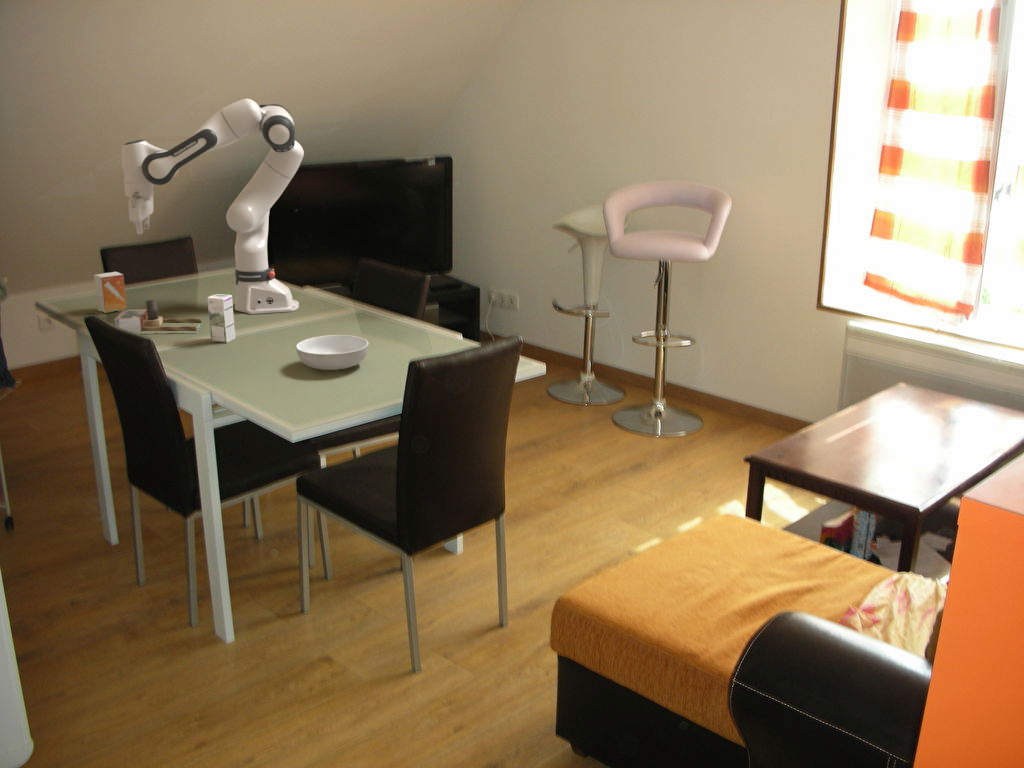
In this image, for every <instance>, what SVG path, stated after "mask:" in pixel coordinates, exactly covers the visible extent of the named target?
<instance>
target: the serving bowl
mask: <svg viewBox="0 0 1024 768" xmlns="http://www.w3.org/2000/svg"><path fill="white" fill-rule="evenodd" d="M369 344H370V343H369V341H368V340H367V339H366V338H363V337H360V336H356V335H349V334H330V335H320V336H314V337H310V338H307V339H304V340H301V341H300V342H298V343H297V344H296V346H295V349H296V353H297V357H298V358H299V360H300V361H301V362H302V363H303V364H304V365H306V366H307V367H310V368H313V369H316V370H322V371H327V370H335V371H340V370H339V369H342V370H345V369H348V368H351V367H353V366H356V365H358V364H360V363H361V362H362V361H363V360H364V359H365V358H366V356H367V353H368V351H369Z"/></svg>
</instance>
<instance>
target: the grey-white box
mask: <svg viewBox="0 0 1024 768" xmlns="http://www.w3.org/2000/svg"><path fill="white" fill-rule="evenodd" d="M143 313H147V308H146V309H144V308H143V309H127V310H123V311H120V313H119V314H118V315H117V316H116V317H115V318H114V323H113V324H114V327H115V326H117V327H120V328H122V329H125V330H128V331H133V332H136V331H140V332H142V324H141V318H140V317H141V315H142V314H143ZM133 316H137V317H139V318H131V317H133Z"/></svg>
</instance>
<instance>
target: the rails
mask: <svg viewBox="0 0 1024 768" xmlns="http://www.w3.org/2000/svg"><path fill="white" fill-rule="evenodd" d="M202 322H203V318H202V317H189V318H187V317H185V318H181V317H180V318H163V323H191V324H193V323H202ZM202 324H203V323H202ZM142 331H197V326H160V327H142ZM197 332H198V331H197Z"/></svg>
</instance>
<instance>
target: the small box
mask: <svg viewBox="0 0 1024 768" xmlns="http://www.w3.org/2000/svg"><path fill="white" fill-rule="evenodd" d="M93 278H94V279H93V280H94V288H95V296H96V307H97V309H98V308H99V309H101V310H103V311H110V310H118V309H123V308H127V307H128V306H127V298H126V287H125V286H126V285H125V276H124V274H123V273H120V272H118V271H112V272H103V273H99V274H93Z"/></svg>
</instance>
